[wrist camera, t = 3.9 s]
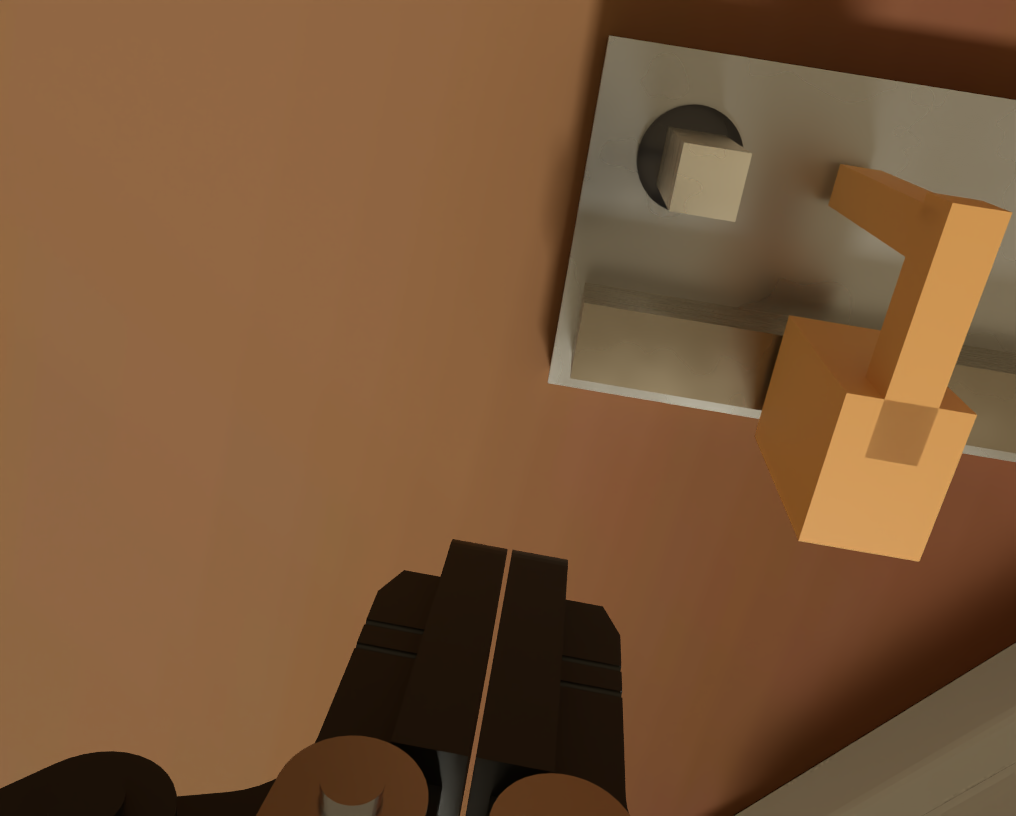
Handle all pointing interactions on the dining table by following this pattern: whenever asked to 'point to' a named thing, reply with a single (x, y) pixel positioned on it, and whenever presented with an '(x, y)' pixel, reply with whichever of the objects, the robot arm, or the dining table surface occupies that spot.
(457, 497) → the dining table surface
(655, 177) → the grey piece
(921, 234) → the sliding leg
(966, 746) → the hinge
